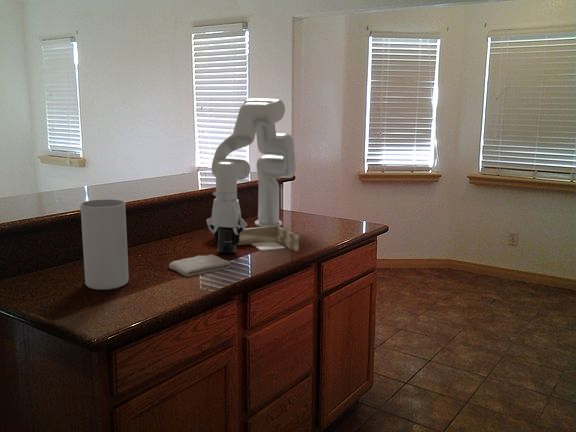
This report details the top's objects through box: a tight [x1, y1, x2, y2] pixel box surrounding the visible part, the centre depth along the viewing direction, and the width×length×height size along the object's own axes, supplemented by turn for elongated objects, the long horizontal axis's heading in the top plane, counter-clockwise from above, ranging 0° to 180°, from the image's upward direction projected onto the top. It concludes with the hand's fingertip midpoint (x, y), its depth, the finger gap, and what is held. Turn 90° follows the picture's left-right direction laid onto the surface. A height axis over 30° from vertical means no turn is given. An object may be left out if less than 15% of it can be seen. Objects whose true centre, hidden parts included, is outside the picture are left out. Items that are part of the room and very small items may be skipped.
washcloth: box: [168, 254, 231, 277], centre depth 178 cm, size 12×18×3 cm, turn 131°
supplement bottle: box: [217, 227, 237, 254], centre depth 195 cm, size 7×7×12 cm
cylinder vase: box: [80, 198, 129, 291], centre depth 158 cm, size 12×12×25 cm
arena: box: [236, 225, 300, 252], centre depth 204 cm, size 18×18×6 cm
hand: (227, 242), depth 195 cm, fingers closed on supplement bottle, 6 cm apart
